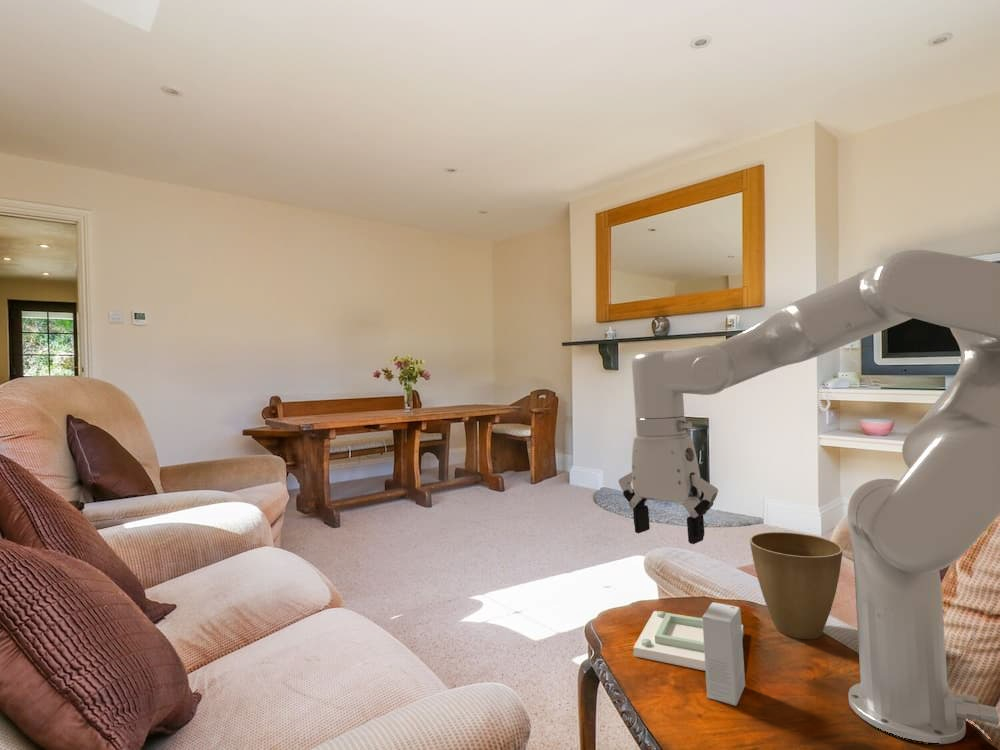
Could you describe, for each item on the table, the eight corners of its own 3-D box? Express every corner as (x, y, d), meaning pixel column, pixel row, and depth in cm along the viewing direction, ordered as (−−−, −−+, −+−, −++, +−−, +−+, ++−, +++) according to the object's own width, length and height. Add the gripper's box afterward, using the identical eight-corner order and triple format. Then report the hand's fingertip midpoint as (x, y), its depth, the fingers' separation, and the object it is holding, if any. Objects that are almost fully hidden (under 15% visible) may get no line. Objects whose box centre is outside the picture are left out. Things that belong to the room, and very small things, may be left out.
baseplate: (743, 633, 97) (742, 618, 97) (736, 676, 83) (735, 659, 83) (654, 618, 104) (653, 604, 104) (633, 656, 90) (633, 640, 90)
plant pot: (752, 641, 94) (747, 550, 94) (755, 608, 107) (751, 528, 107) (852, 657, 87) (847, 559, 87) (843, 620, 100) (838, 535, 100)
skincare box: (716, 678, 82) (712, 601, 83) (745, 686, 80) (741, 606, 80) (705, 698, 78) (701, 615, 78) (736, 707, 75) (732, 622, 75)
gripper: (724, 427, 80) (732, 540, 80) (630, 426, 94) (637, 523, 93) (697, 431, 76) (706, 552, 75) (602, 429, 89) (609, 532, 88)
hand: (668, 536), depth 84 cm, fingers open, 9 cm apart
